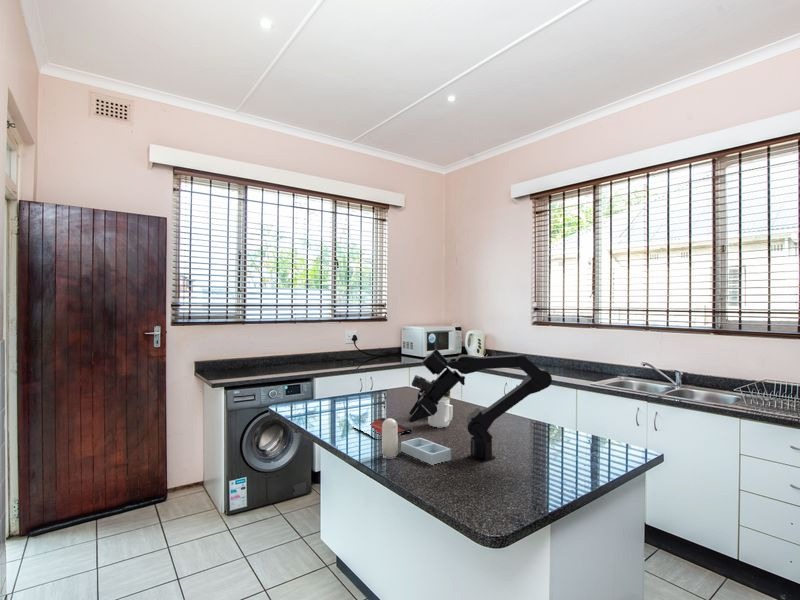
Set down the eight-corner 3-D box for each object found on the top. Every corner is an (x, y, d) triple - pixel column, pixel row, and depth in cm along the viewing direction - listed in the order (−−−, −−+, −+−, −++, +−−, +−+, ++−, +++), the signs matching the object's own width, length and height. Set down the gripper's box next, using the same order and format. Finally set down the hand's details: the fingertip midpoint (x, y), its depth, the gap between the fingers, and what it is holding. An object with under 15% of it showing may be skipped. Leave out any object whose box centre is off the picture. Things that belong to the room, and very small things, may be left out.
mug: (423, 425, 179) (423, 398, 179) (438, 421, 185) (438, 395, 185) (444, 431, 170) (444, 403, 170) (459, 427, 176) (459, 400, 176)
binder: (383, 417, 185) (412, 428, 168) (383, 422, 185) (412, 434, 168) (350, 424, 176) (376, 437, 159) (350, 430, 176) (377, 443, 159)
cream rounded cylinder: (400, 457, 142) (400, 418, 142) (388, 460, 138) (388, 421, 138) (391, 452, 146) (391, 415, 146) (379, 456, 142) (378, 418, 143)
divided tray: (451, 459, 139) (451, 449, 139) (431, 465, 134) (431, 454, 134) (419, 447, 151) (419, 437, 151) (401, 452, 146) (401, 442, 146)
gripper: (425, 363, 151) (394, 394, 152) (426, 371, 133) (390, 407, 133) (447, 386, 151) (416, 417, 151) (452, 397, 132) (416, 432, 132)
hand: (409, 417), depth 142 cm, fingers open, 9 cm apart
